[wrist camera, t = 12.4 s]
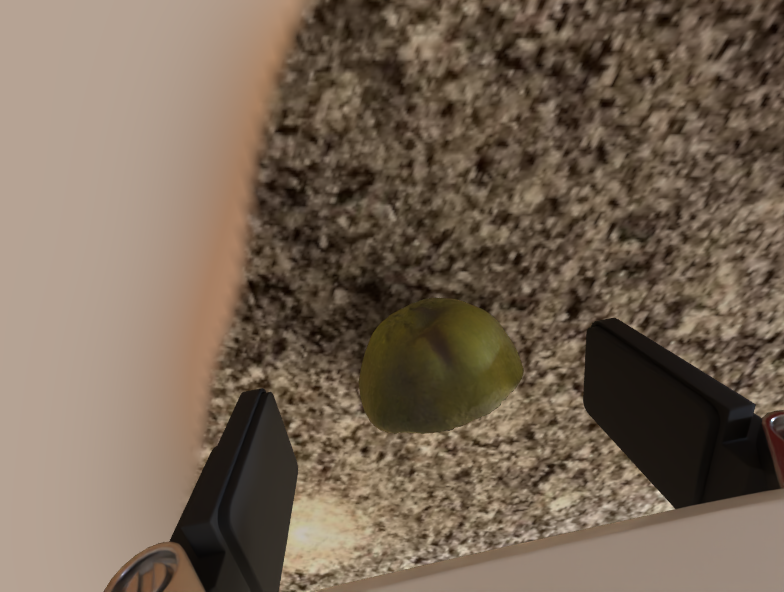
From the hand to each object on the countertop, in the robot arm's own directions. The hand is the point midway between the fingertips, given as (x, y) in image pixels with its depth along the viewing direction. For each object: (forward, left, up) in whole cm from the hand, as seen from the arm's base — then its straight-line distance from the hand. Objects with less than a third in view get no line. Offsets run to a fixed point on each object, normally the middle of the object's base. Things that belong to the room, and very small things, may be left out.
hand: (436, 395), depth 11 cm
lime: (0, 0, -4) cm, 4 cm away
